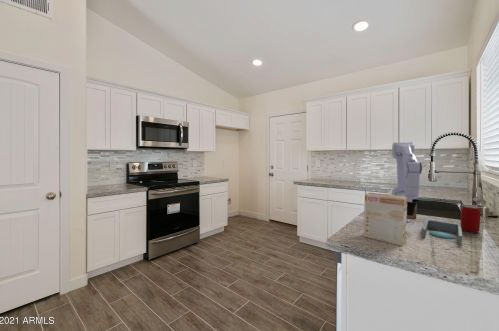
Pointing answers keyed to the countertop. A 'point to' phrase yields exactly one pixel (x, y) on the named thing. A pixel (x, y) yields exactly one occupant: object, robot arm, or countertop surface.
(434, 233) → the pad
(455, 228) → the grey angular frame piece
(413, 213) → the walnut cylinder
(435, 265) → the countertop surface
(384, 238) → the coffeecake box
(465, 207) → the beverage can
